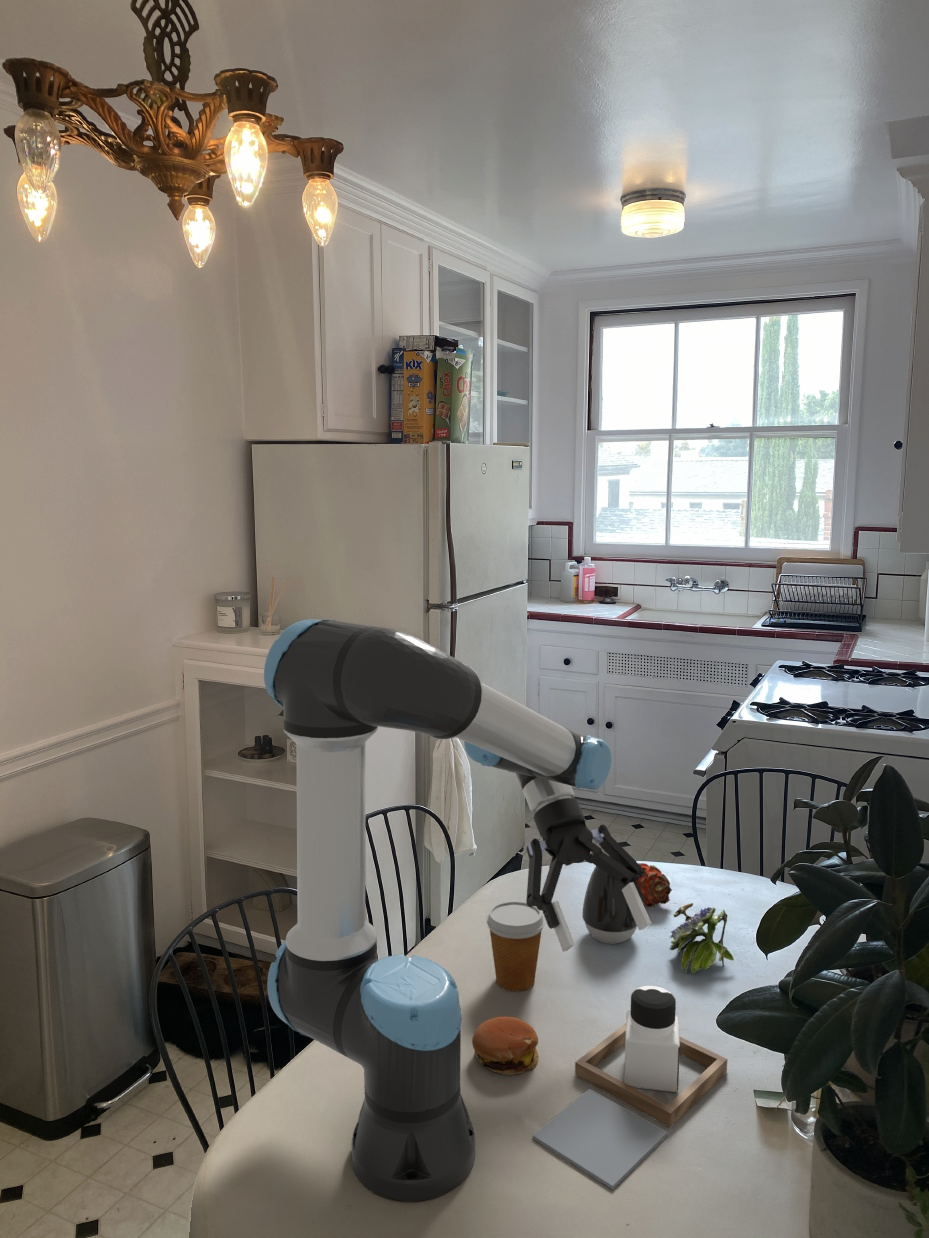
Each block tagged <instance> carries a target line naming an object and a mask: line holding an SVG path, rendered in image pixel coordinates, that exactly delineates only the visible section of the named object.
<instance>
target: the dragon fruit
mask: <svg viewBox="0 0 929 1238" xmlns="http://www.w3.org/2000/svg"><path fill="white" fill-rule="evenodd" d="M637 863H638V862H637ZM638 864H639V865H640V866H641V867H642V868H643V869H644V870H645V874H644V875H643V876H642V877H641V878H640V879H638V885H639V887H640V889H641V891H642V894H643V896H644V898H645V902H644V903H643V905H644V907H645V908H646V907H647V908H655V907H656V906H657V905H659V904H662V905H665V904H667V903H669V902H670V894H671V892H672V891H673V889H672V887H671V886H670V885H671V883H670V880H669V879H668V877H667V876H666V875H665V874H664V873H662V871H661V870H660V869H659V868H658V867H657V866H655V865H649V864H647V863H645V862H644V863H642V862H641V863H640V862H639V863H638Z"/></svg>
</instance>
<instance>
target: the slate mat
mask: <svg viewBox="0 0 929 1238" xmlns="http://www.w3.org/2000/svg"><path fill="white" fill-rule="evenodd" d="M667 1136H668V1131H666V1130H664V1129H662V1128H661V1127H659V1126H657V1125H656V1124H653V1123H652V1122H650V1121H648V1120H646V1119H645V1118H642V1117H641V1116H639V1115H637V1114H635V1113H634V1112H632V1111H630V1110H629V1109H627V1108H625V1107H623V1106H621V1105H619V1104H618V1103H616V1102H615V1101H612V1100H611V1099H609V1098H607V1097H605V1096H603V1095H601V1094H599V1093H598V1092H596V1091H594V1090H593V1089H591V1088H588V1089H587V1090H586V1091H585V1092H584V1093H582V1094H581V1095H580V1096H578V1097H577V1098H576V1099H575V1100H574V1101H573V1102H571V1103H570V1104H569V1105H568V1106H567V1107H565V1108H564V1109H563V1110H561V1111H560V1112H559V1113H558V1114H557V1115H556V1116H555V1117H553V1118H552V1119H550V1121H548V1122H547V1123H546V1124H544V1125H543V1126H542V1127H541V1128H540V1129H539V1130H537V1131H536V1132H535V1133H534V1134H532V1139H533V1140H534V1141H536V1143H539V1144H540V1145H542V1146H544V1147H545V1148H547V1149H548V1150H550V1151H551V1152H552V1153H555V1154H556V1155H557V1156H559V1157H561V1158H562V1159H564V1160H565V1161H567V1162H568V1163H570V1164H571V1163H572V1165H573V1166H574V1167H576V1168H577V1169H579V1170H581V1171H583V1172H584V1173H586V1174H587V1175H589V1176H590V1177H592V1178H593V1179H595V1180H597V1181H598V1182H600V1183H601V1184H603V1185H605V1186H606V1187H607V1188H609V1189H611V1190H614V1189H615V1188H616V1187H617V1186H619V1185H620V1183H621V1182H623V1180H624V1179H625V1178H626V1177H627V1176H628V1175H629V1174H630V1173H631V1172H633V1171H634V1170H635V1168H636V1167H637V1166H639V1165H640V1163H642V1161H644V1160H645V1158H646V1157H648V1155H650V1154H651V1153H652V1151H654V1150H655V1148H657V1147H658V1145H660V1143H662V1142H663V1141H664V1140H665V1139H666V1138H667Z"/></svg>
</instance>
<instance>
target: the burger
mask: <svg viewBox="0 0 929 1238" xmlns="http://www.w3.org/2000/svg"><path fill="white" fill-rule="evenodd" d="M537 1034H538V1033H537V1032H536V1031H535V1029H534V1027H532V1026H531V1025H530V1024H529V1023H527V1022H526V1021H524V1020H522V1019H520V1018H517V1017H513V1016H497V1017H493V1018H490V1019H487V1020H485V1021H483V1022H482V1023H481V1024H479V1025H478V1026H477V1028H476V1029H475V1030H474V1032H473V1035H472V1039H471V1044H472V1047H473V1050H474V1053H475V1054H474V1055H475V1058H476V1059H477V1061H478V1062H479V1063H480V1064H481V1065H482V1066H483V1068H486V1069H488V1070H490V1071H492V1072H495V1073H496V1074H497V1073H499V1074H503V1075H509V1076H513V1075H521V1074H523V1072H524V1071H526V1070H533V1069H534V1068H535V1067H536V1066H537V1064H538V1061H539V1054H538V1050H537V1046H538V1044H539V1038H538V1035H537Z"/></svg>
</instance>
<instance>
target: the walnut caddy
mask: <svg viewBox="0 0 929 1238" xmlns="http://www.w3.org/2000/svg"><path fill="white" fill-rule="evenodd" d="M625 1039H626V1022H625V1023H624V1024H623V1025H622V1026H620V1027H619V1028H618V1029H616V1030H615V1031H614V1032H613V1033H611V1034H610V1035H608V1036H607V1037H606V1038H604V1039H603V1040H602V1041H601V1042H600V1043H598V1044H597V1045H595V1046H594V1047H593V1048H592V1049H590V1050H589V1051H587V1052H586V1053H585V1054H584V1055H583V1056H581V1057H580V1058H579V1059H577V1060H576V1061H575V1062H574V1067H575V1068H574V1076H576V1077H577V1078H580V1079H581V1080H583V1081H585V1082H586V1083H588V1084H590V1085H592V1086H594V1087H596V1088H597V1089H599V1090H601V1091H602V1092H605V1093H606V1094H607V1095H610V1096H612V1097H614V1098H616V1099H617V1100H619V1101H620V1102H622V1103H625V1104H627V1105H629V1106H630V1107H632V1108H634V1109H635V1110H638V1111H639V1112H640V1113H643V1114H645V1115H647V1116H648V1117H650V1118H652V1120H653V1119H654V1120H655V1121H658V1122H659V1123H661V1124H663V1125H664V1126H667V1127H668V1128H672V1126H673V1125H675V1123H677V1121H678V1120H680V1119H681V1118H682V1117H683V1116H684V1115H685V1114H686V1113H687V1112H688V1111H689V1110H690V1109H691V1108H692V1107H693V1106H694V1105H695V1104H696V1103H697V1102H698V1101H699V1100H700V1099H701V1098H702V1097H703V1096H704V1095H705V1094H706V1093H707V1092H708V1091H710V1089H712V1088H713V1086H715V1084H716V1083H717V1082H718V1081H719V1080H720V1079H721V1078H723V1077H724V1076H725V1074H727V1072H728V1058H726V1057H725V1056H723V1055H720V1054H718V1053H715V1052H714V1051H711V1050H709V1049H707V1048H705V1047H703V1046H701V1045H698V1044H697V1043H694V1042H692V1041H691V1040H688V1039H686V1038H684V1037H682V1036H680V1035H679V1043H680V1051H679V1056H683V1057H684V1058H686V1059H689V1060H691V1061H693V1062H695V1063H697V1064H699V1065H701V1066H703V1067H706V1069H705V1070H704V1071H703V1072H702V1073H701V1074H700V1075H699V1076H698V1077H697V1078H696V1079H695V1080H693V1081H692V1082H691V1083H690V1084H689V1085H688V1086H687V1087H686V1088H685V1089H684V1090H683V1091H682V1092H681V1093H680V1094H679V1095H677V1096H676V1097H675V1098H674V1100H672V1101H671V1102H670V1103H669V1104H668V1105H667V1104H665V1103H663V1102H662V1101H659V1100H657V1099H656V1098H654V1097H653V1096H651V1095H648V1094H646V1093H645V1092H642V1091H641V1090H639V1089H638V1088H635V1087H632V1086H630V1085H628V1084H626V1083H624V1081H622V1080H620V1079H618V1078H617V1077H615V1076H613V1075H610V1074H608V1073H607V1072H605V1071H604V1070H601V1069H599V1068H598V1066H599V1065H600V1064H601V1063H602V1062H604V1061H605V1060H606V1059H607V1058H608V1057H610V1056H611V1055H612V1054H614V1053H615V1052H616V1051H617V1050H618V1049H620V1048H621V1047H622V1046H624V1045H625Z"/></svg>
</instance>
